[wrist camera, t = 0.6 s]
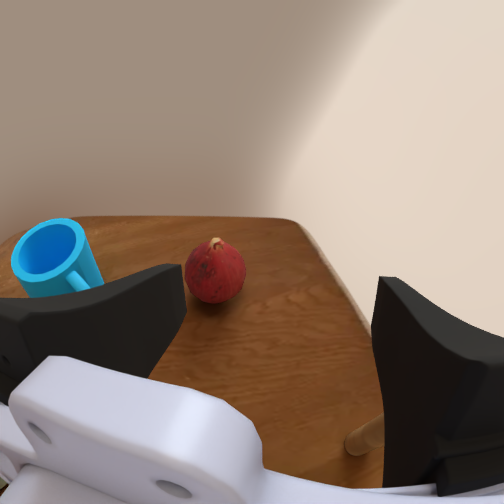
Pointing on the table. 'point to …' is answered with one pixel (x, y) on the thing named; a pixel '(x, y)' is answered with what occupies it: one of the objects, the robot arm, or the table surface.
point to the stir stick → (366, 437)
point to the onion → (215, 271)
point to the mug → (55, 260)
